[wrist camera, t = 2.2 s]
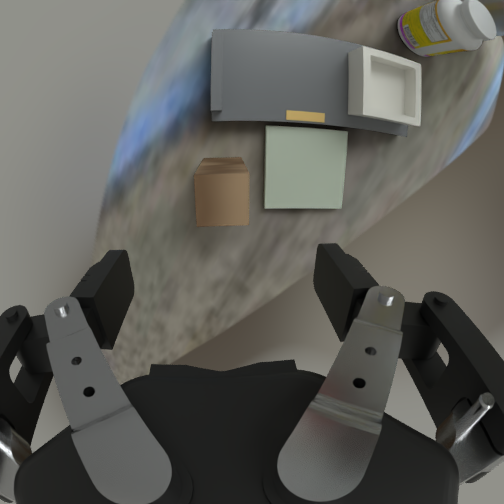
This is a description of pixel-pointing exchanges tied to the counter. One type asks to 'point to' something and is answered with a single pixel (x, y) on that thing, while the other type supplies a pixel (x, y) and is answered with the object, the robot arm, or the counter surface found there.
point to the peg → (222, 192)
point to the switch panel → (285, 80)
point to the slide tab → (384, 86)
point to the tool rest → (304, 167)
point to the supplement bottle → (446, 27)
